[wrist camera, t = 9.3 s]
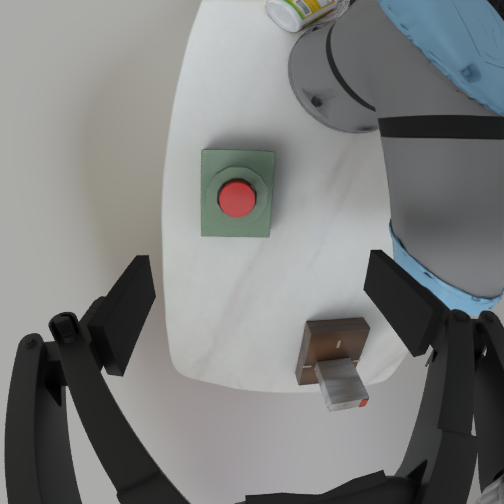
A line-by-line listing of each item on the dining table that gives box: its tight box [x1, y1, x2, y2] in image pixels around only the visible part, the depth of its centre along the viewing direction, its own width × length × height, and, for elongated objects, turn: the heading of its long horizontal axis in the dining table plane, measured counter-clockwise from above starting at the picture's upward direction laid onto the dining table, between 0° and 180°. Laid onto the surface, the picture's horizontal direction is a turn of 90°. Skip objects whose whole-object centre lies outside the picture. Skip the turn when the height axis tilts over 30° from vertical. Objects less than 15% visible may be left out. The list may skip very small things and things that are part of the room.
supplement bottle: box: [266, 0, 342, 32], centre depth 20 cm, size 5×5×10 cm
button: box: [219, 180, 255, 217], centre depth 28 cm, size 4×4×2 cm
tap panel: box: [295, 318, 370, 385], centre depth 41 cm, size 12×10×3 cm
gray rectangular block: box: [314, 358, 369, 412], centre depth 36 cm, size 6×2×9 cm, turn 87°
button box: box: [201, 149, 275, 237], centre depth 30 cm, size 10×8×4 cm
